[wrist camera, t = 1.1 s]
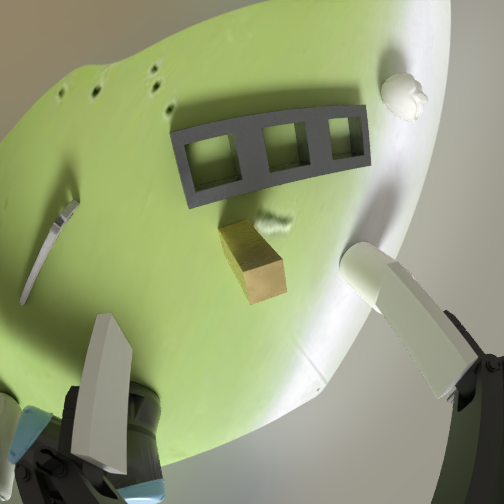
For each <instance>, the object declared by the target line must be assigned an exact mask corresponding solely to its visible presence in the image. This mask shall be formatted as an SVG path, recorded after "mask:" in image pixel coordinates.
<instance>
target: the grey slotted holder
mask: <svg viewBox="0 0 504 504" xmlns="http://www.w3.org/2000/svg"><path fill="white" fill-rule="evenodd" d="M347 117H348V121H349V130H350V140H351V150H352V152H351V153H345V154H338V155H332V149H331V140H330V132H329V124H328V119H333V118H347ZM289 123H294V125H295V132H296V138H297V145H298V152H299V160H300V162H295V163H290V164H285V165H280V166H276V167H271V168H269V165H268V159H267V153H266V147H265V141H264V136H263V130H262V128H263V127H269V126H275V125H282V124H289ZM169 134H170V138H171V142H172V146H173V151H174V155H175V159H176V163H177V167H178V171H179V175H180V179H181V183H182V186H183V190H184V194H185V198H186V202H187V205H188V208H189V209H192V208H195V207H199V206H202V205H206V204H209V203H213V202H216V201H220V200H223V199H227V198H231V197H234V196H238V195H242V194H245V193H249V192H253V191H257V190H261V189H265V188H269V187H273V186H277V185H281V184H285V183H290V182H294V181H298V180H303V179H307V178H311V177H316V176H321V175H325V174H330V173H335V172H340V171H345V170H350V169H355V168H360V167H366V166H371V156H370V142H369V130H368V120H367V111H366V105H341V106H323V107H310V108H300V109H290V110H282V111H274V112H267V113H260V114H254V115H248V116H242V117H237V118H232V119H226V120H222V121H217V122H212V123H208V124H203V125H199V126H195V127H191V128H187V129H183V130H179V131H175V132H172V133H169ZM227 134H228V138H229V143H230V148H231V153H232V158H233V163H234V168H235V173H236V176H233V177H229V178H225V179H221V180H218V181H214V182H210V183H206V184H203V185H199V186H196V187H194V184H193V180H192V176H191V172H190V168H189V164H188V160H187V155H186V151H185V147H184V145H185V144H189V143H193V142H197V141H201V140H205V139H209V138H213V137H218V136H222V135H227Z"/></svg>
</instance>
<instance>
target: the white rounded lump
mask: <svg viewBox="0 0 504 504" xmlns="http://www.w3.org/2000/svg"><path fill="white" fill-rule="evenodd" d="M381 97H382V101H383V104H384V106H385V107H386V108H387V109H388V110H389V111H390V112H391V113H392V114H393V115H395V116H396V117H398V118H400V119H403V120H405V121H416V119H417V117H418V116H420V115H421V114H422V111H423V105H424V104H425V103H427V102H428V97H427V96H426V95H425V94H424V93H423V92H422V87H421V84H420V83H419V82H418V81H416V80H415V79H414V77H413V76H412V75H411V74H408V73H400V74H395V75H392V76H391V77H389V78H388V79H387V80H386V81H385V83H384V84H383V85H382V89H381Z"/></svg>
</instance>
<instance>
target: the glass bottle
mask: <svg viewBox="0 0 504 504" xmlns="http://www.w3.org/2000/svg"><path fill="white" fill-rule="evenodd" d="M21 414H22V410H21V408H20V406H19V405H18V403H17V402H16V401H15V400H14V399H13V398H12V397H11V396H9V395H7V394H5V393H1V392H0V500H1V501H7V500H8V499H9V498H10V497H11V493H12V484H13V479H14V477H15V475H14V469H15V464H14V465H13V464H11V463H10V462H9V461H8V459H7V456H8V452H9V449H10V445H11V442H12V439H13V436H14V433H15V430H16V427H17V424H18V421H19V419H20V416H21Z"/></svg>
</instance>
